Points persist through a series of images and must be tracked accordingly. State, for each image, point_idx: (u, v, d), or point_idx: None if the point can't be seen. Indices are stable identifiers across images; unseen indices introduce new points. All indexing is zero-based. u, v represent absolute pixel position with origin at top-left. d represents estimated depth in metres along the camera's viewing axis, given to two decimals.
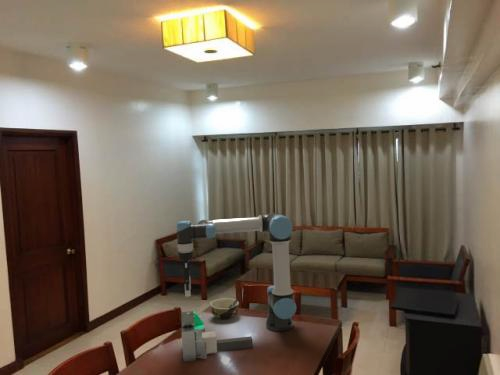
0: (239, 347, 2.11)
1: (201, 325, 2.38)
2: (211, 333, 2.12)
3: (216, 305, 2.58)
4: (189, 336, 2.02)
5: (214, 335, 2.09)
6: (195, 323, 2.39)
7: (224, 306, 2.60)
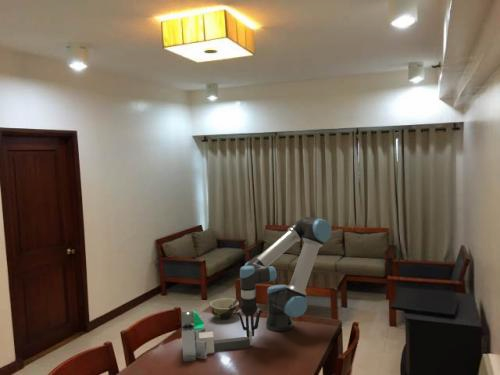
0: (236, 347, 2.11)
1: (201, 324, 2.39)
2: (208, 333, 2.12)
3: (216, 305, 2.58)
4: (189, 336, 2.02)
5: (212, 335, 2.09)
6: (195, 322, 2.40)
7: (224, 306, 2.60)
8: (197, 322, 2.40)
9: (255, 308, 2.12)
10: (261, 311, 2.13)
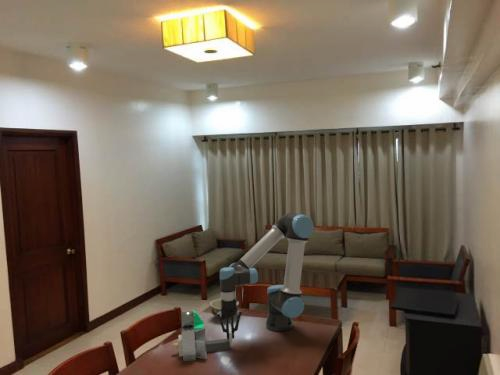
0: (216, 349, 2.10)
1: (201, 324, 2.40)
2: None
3: (216, 305, 2.58)
4: (189, 336, 2.02)
5: None
6: (195, 322, 2.41)
7: None
8: (197, 322, 2.41)
9: (235, 310, 2.11)
10: (241, 313, 2.11)
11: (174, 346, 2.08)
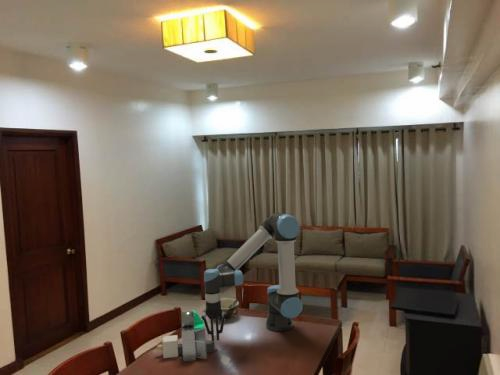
0: None
1: (201, 324, 2.40)
2: (173, 337, 2.10)
3: None
4: (189, 336, 2.02)
5: (176, 339, 2.07)
6: (195, 322, 2.41)
7: (224, 306, 2.60)
8: (197, 322, 2.41)
9: (220, 312, 2.10)
10: (226, 315, 2.10)
11: (158, 348, 2.07)
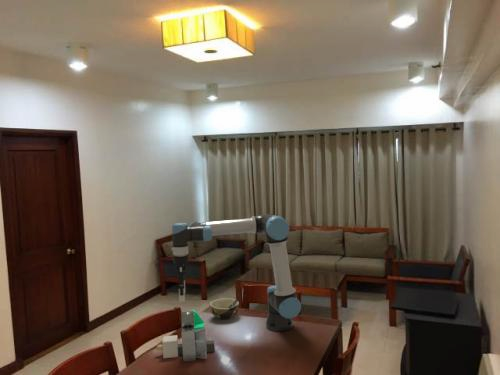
0: None
1: (201, 324, 2.41)
2: (172, 337, 2.10)
3: (216, 305, 2.58)
4: (189, 336, 2.02)
5: (175, 339, 2.07)
6: (195, 322, 2.41)
7: (224, 306, 2.60)
8: (197, 321, 2.42)
9: (183, 264, 2.11)
10: None
11: (158, 348, 2.07)
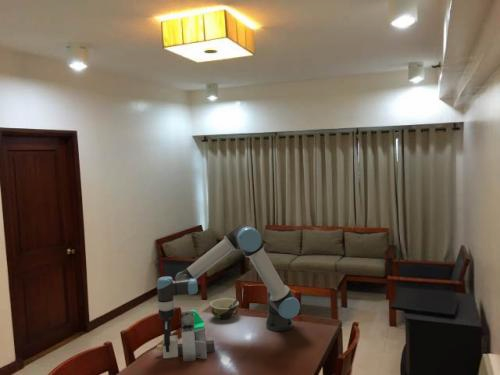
0: None
1: (201, 323, 2.41)
2: (172, 337, 2.10)
3: (216, 305, 2.58)
4: (189, 336, 2.02)
5: (175, 339, 2.07)
6: (195, 321, 2.42)
7: (224, 306, 2.60)
8: (197, 321, 2.42)
9: (169, 317, 2.11)
10: None
11: (158, 348, 2.07)
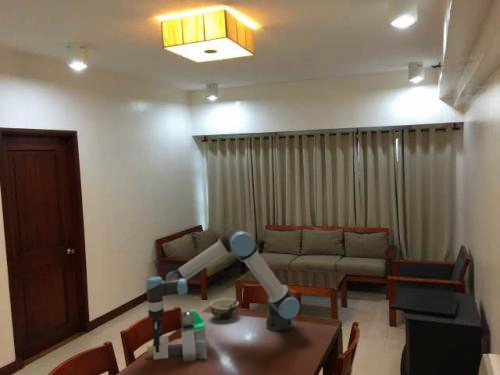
0: None
1: (201, 323, 2.42)
2: (163, 338, 2.09)
3: (216, 305, 2.58)
4: (189, 336, 2.02)
5: (166, 340, 2.06)
6: (195, 321, 2.42)
7: (224, 306, 2.60)
8: (197, 321, 2.43)
9: (159, 318, 2.10)
10: None
11: (149, 349, 2.06)
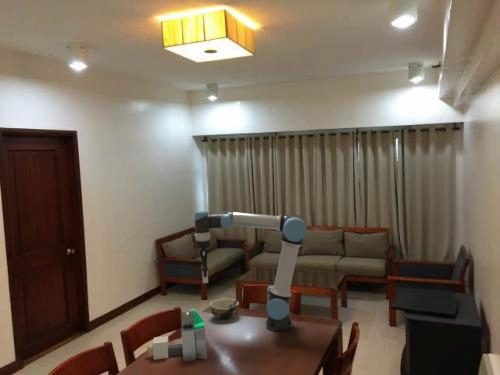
0: None
1: (201, 322, 2.42)
2: (163, 338, 2.09)
3: (216, 305, 2.58)
4: (189, 336, 2.02)
5: (166, 340, 2.06)
6: (195, 321, 2.43)
7: (224, 306, 2.60)
8: (197, 320, 2.43)
9: None
10: None
11: (149, 349, 2.06)
